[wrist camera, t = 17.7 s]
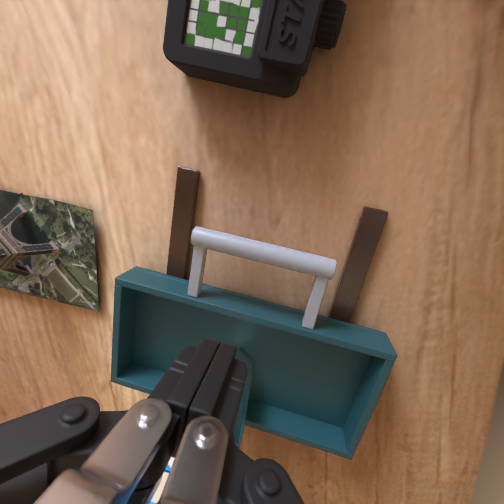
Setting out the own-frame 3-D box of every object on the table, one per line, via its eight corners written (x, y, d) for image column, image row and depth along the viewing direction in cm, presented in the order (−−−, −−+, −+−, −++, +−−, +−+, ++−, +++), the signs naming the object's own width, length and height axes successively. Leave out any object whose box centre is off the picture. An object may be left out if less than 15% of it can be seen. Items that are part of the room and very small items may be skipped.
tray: (140, 205, 22) (117, 210, 19) (411, 270, 19) (429, 285, 16) (129, 360, 26) (110, 381, 24) (346, 428, 24) (351, 460, 21)
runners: (180, 166, 21) (177, 166, 20) (386, 211, 19) (389, 212, 18) (159, 364, 26) (156, 367, 26) (315, 412, 25) (315, 417, 24)
